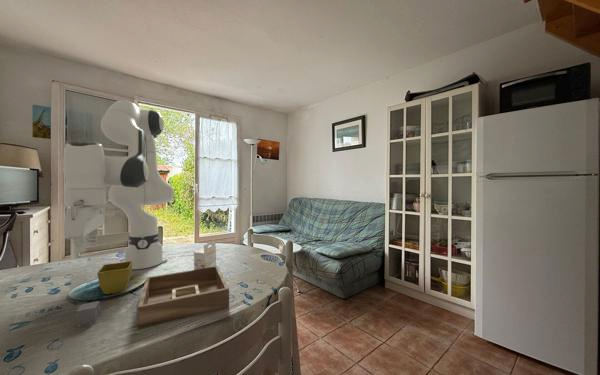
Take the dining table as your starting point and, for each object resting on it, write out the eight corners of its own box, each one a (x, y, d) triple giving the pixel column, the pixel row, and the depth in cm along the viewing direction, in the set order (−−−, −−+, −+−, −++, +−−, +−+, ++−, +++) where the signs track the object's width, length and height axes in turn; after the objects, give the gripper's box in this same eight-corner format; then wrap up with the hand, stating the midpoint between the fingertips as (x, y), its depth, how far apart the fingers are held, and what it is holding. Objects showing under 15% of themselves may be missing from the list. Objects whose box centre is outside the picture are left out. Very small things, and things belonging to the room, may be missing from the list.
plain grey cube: (81, 319, 68) (81, 304, 68) (99, 315, 70) (99, 301, 70) (76, 327, 65) (76, 311, 64) (95, 322, 66) (95, 307, 66)
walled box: (146, 294, 83) (146, 277, 83) (217, 280, 94) (217, 266, 94) (138, 329, 64) (137, 307, 64) (229, 307, 75) (229, 288, 75)
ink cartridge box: (206, 272, 102) (206, 239, 102) (216, 273, 102) (216, 239, 101) (193, 281, 94) (193, 244, 94) (204, 282, 93) (204, 245, 93)
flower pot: (97, 298, 80) (96, 272, 79) (104, 288, 87) (103, 264, 87) (128, 293, 84) (128, 268, 83) (133, 283, 91) (132, 260, 91)
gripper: (88, 201, 58) (90, 256, 59) (109, 196, 77) (109, 238, 77) (54, 202, 56) (55, 260, 56) (83, 196, 74) (84, 240, 74)
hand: (87, 247), depth 67 cm, fingers open, 8 cm apart
